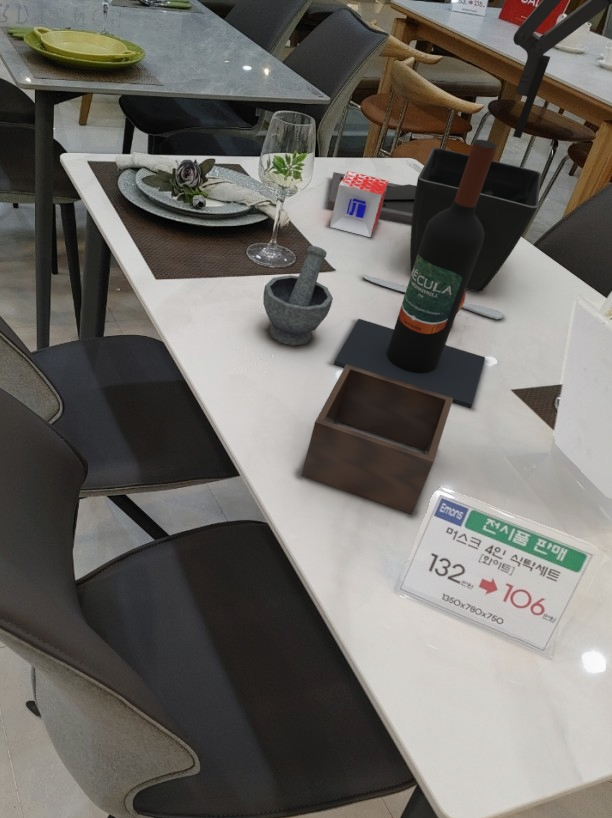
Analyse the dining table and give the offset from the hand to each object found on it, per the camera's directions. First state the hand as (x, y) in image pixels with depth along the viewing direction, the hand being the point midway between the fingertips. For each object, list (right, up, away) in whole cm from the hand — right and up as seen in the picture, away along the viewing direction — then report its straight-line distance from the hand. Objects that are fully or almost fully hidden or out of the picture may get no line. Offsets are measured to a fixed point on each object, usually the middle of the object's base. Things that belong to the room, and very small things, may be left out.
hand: (588, 151), depth 73 cm
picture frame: (-3, +29, +82) cm, 87 cm away
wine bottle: (-8, -12, +39) cm, 41 cm away
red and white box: (-10, +21, +73) cm, 77 cm away
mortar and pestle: (-25, -8, +41) cm, 49 cm away
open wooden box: (-17, -28, +21) cm, 39 cm away
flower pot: (+5, +9, +64) cm, 65 cm away
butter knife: (0, +1, +55) cm, 55 cm away
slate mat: (-8, -12, +39) cm, 42 cm away
